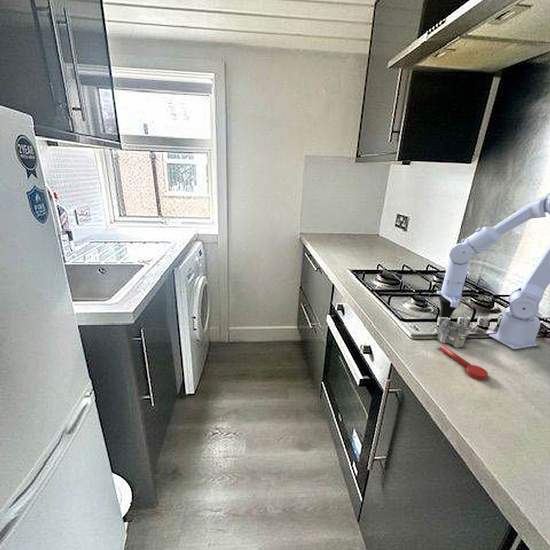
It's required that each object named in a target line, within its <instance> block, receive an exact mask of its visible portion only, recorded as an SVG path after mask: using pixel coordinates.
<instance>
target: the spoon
mask: <svg viewBox="0 0 550 550" xmlns="http://www.w3.org/2000/svg"><path fill="white" fill-rule="evenodd" d="M439 350H441V351H442V352H443V353H444V354H446V355H447V356H449V357H450V358H452V360H454V361H456V362H457V363H459V364H460V365H461V366H463V367H464V368H465V372H466V374H467V375H468V376H469V377H471V378H473V379H475V380H478V381H479V380H480V381H486V380H487V378H488V376H489V373H488V371H487V370H486V369H484V368H483V367H481V366H478V365H475V364H471V363H470V362H468V361H467V360H465V359H464V358H462V357H461V356H460V355H458V354H456V352H453V351H452V350H451V349H450V348H448V347H446V346H445V345H443V344H441V345H439Z"/></svg>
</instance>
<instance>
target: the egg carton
mask: <svg viewBox="0 0 550 550" xmlns="http://www.w3.org/2000/svg"><path fill="white" fill-rule="evenodd" d="M445 320H447V319H445ZM445 320H443V321H442V322H441V323H440V325H439V326H438V327H437V332H438V334H437V338H436V339H437V340H438V341H439V342H440V343H442V344H450V345H452V346H453V347H454V348H463V347H464V345H465V341H466V339H467V337H468V335H470V331H469V330H470V329H469V327H468V326H467V327H464V326H463V324H459V323H458V322H455V321H451V320H448V326H449V327H450V328H449V327H447V324H445V323H446V321H445ZM446 327H447V328H446ZM459 330H460V331H459Z"/></svg>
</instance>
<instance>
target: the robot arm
mask: <svg viewBox="0 0 550 550" xmlns="http://www.w3.org/2000/svg"><path fill="white" fill-rule="evenodd" d="M546 213H547V214H548V215H550V192H549V193H547V194H546V195H545V196H541V197H539V198H537V199H535V200H533V201H532V202H529V203H527V204H526V205H524V206H523V207H521V208H520V209H518V210H516V211H515V212H514V213H512V214H510V216H508V217H506V218H505V219H503V220H502V221H500V222H498V223H496V225H494V226H483V227H478V228H476V229H475V232H474V233H473V234H471V235H469V236H468V237H466V238H462V239H460V242H459V243H456V244H454V245H453V246H452V248H451V249H450V251H449V260H448V264H447V265H446V268H445V273H444V277H443V281H442V285H441V290H436V294H437V295H439V296H438V300H439V302H440V303H439V304H440V305H439V306H440V318H441V317H448V318H449V319H450V318H451V316H452V315H453V313H454V312H455V310H456V309H459V307H460V305H461V302H460V301H461V299H462V297H463V295H462V294H463V290H464V286H465V282H466V278H467V275H468V272H469V271H468V270H469V268H468V267H469V263H470V261H471V260H472V258H473V256H476V255H479V254H481V253H483V252H484V251H486V250H488V249H490V248H491V247H494V246H495V245H496V244H498V243H499V242H500V238H501V236H503V235H504V234H506V233H508V232H510V231H512V230H514V229H516V228H517V227H518V226H521V225H522V224H524V223H526V222H528V221H530V220H531V219H540V218H547V214H546ZM549 285H550V243H549V244H548V246H547V247H546V249H545V250H544V252H543V253H542V255H541V256H540V258H539V259H538V261H537V263H536V264H535V266H534V267H533V268H532V270H531V272H530V273H529V275H528V276H527V278H526V279H525V280H524V281H523V282H522V283H521V284H520V286H519V287H518V288H517V289H515V290H513V291H512V292H511V293H510V294H509V296H508V301H509V306H508V307H506V308H505V309H504V311H503V314H502V317H501V320H500V323H499V326H498V329H497V332H496V333H489V334H488V337H491V338H492V339H494V340H496V341H498V342H499V343H501V344H503V345H504V346H506V347H508V348H510V349H511V350H519V349H525V348H533V347H537V346H538V344H537V343H535V342H536V339H537V336H538V333H539V330H540V328H541V321H540V318H539V317H538V316H537V315H538V313H539V311H540V303H541V301H542V300H543V298H544V295H545V292H546V290H547V288H548V287H549Z"/></svg>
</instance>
